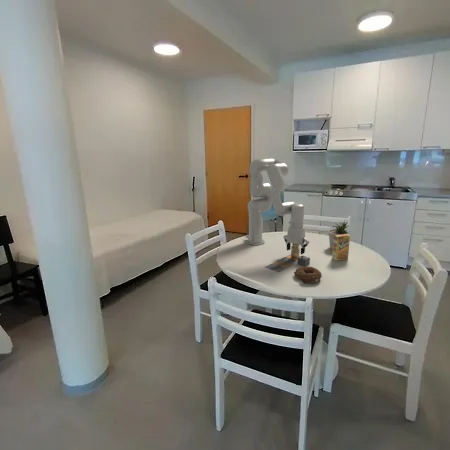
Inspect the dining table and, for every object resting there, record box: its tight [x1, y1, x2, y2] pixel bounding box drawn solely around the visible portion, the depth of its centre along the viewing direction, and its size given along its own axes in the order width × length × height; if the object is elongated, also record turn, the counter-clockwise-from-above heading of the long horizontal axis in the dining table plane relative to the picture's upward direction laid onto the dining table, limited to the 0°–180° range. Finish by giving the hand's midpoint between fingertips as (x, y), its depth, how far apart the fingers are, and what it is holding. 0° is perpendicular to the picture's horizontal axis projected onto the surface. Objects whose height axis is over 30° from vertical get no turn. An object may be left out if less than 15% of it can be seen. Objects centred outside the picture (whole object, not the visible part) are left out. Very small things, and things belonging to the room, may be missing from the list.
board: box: [264, 253, 300, 273], centre depth 174 cm, size 10×28×1 cm, turn 135°
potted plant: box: [327, 219, 352, 250], centre depth 195 cm, size 13×14×20 cm
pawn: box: [290, 243, 301, 259], centre depth 179 cm, size 5×5×10 cm
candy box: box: [331, 234, 351, 261], centre depth 178 cm, size 9×4×15 cm, turn 107°
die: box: [297, 255, 311, 267], centre depth 171 cm, size 5×5×5 cm
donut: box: [293, 265, 323, 284], centre depth 154 cm, size 14×14×5 cm
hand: (295, 251), depth 180 cm, fingers open, 9 cm apart
